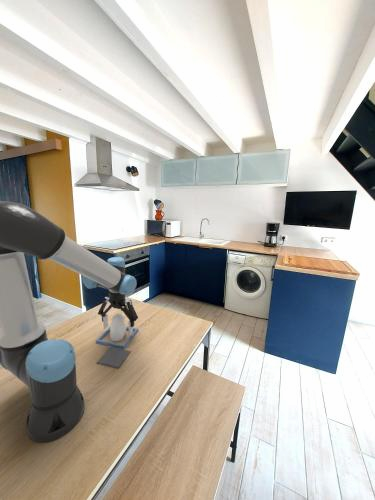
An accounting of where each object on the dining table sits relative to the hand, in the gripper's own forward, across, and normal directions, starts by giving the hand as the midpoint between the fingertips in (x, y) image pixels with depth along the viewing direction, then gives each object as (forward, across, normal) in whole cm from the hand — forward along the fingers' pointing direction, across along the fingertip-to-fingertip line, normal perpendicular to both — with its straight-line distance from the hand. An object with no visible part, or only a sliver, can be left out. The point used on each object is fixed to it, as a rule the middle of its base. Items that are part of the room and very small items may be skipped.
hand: (118, 329), depth 103 cm
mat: (+4, -6, +13) cm, 15 cm away
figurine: (+4, 0, 0) cm, 4 cm away
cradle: (+4, 0, 0) cm, 4 cm away
